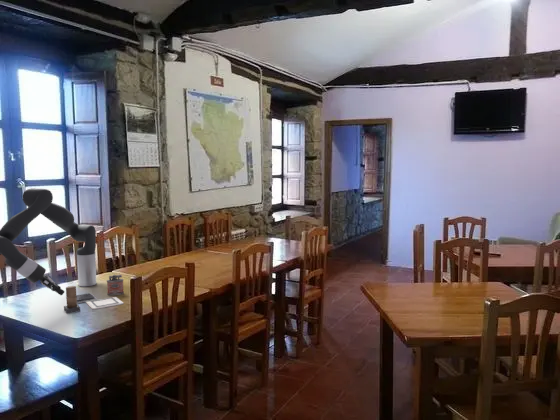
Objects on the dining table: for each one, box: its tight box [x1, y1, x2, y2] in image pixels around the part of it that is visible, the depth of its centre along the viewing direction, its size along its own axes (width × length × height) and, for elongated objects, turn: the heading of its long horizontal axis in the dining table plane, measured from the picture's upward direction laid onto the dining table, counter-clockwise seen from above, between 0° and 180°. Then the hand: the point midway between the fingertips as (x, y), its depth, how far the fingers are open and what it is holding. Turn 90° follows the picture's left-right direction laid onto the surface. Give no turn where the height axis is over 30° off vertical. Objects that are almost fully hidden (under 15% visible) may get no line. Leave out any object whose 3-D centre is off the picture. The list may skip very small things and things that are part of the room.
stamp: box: [63, 285, 81, 315], centre depth 207 cm, size 6×6×11 cm
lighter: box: [106, 274, 125, 296], centre depth 233 cm, size 8×3×10 cm, turn 106°
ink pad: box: [76, 293, 98, 305], centre depth 224 cm, size 11×11×1 cm
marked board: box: [85, 296, 124, 310], centre depth 218 cm, size 12×14×1 cm
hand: (61, 291), depth 204 cm, fingers open, 8 cm apart
